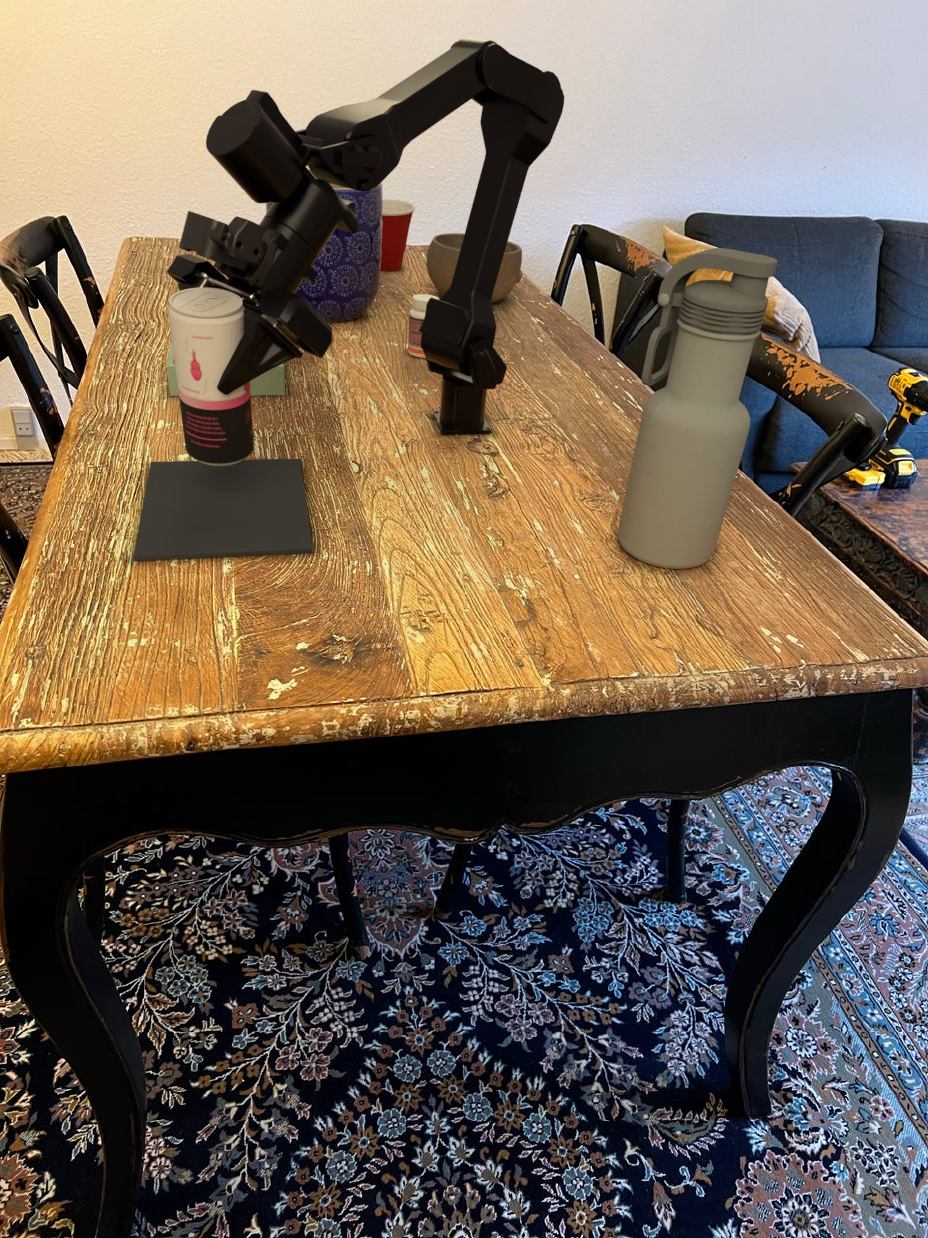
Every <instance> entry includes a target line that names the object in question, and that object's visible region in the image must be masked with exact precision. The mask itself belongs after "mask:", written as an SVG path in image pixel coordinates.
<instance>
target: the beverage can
mask: <svg viewBox="0 0 928 1238" xmlns="http://www.w3.org/2000/svg"><path fill="white" fill-rule="evenodd" d="M242 300H243V298H240V297H239V296H238V295H237V294H235V293H233V292H230V291H227V290H223V289H218V288H190V289H185V290H182V291H180V290H179V291H176V292H174V293H173V294H172V295H171V296H170V297H169V298H168V306H167V313H168V322H169V328H170V336H171V337H170V338H171V339H172V345H173V353H174V361H175V369H176V376H177V384H178V392H179V396H178V399H179V407H180V408H179V409H180V414H181V416H180V417H181V422H182V430H183V438H184V445H185V446H184V447H185V451H186V453H187V455H189V456H190V457H191V458H192V459H194V460H195V461H199V462H201V463H204V464H207V465H213V466H226V465H232V464H236V463H238V462H241V461H243V460H247V458H248V457H249V456H251V454H253V452H254V450H255V437H254V424H253V409H252V407H253V406H252V396H251V391H250V382H248V383H246V384H245V385H243V386H241V387H239V388H238V389H236V390H234V391H233V392H231V393H229V394H228V395H225V394H223V393H221V392H220V391H219V390H218V389H217V385H218V383H219V381H220V378H221V376H222V374H223V372H224V370H225V368H226V366H227V365H228V363H229V361H230V359H231V357H232V355H233V353H234V352H235V350H236V348H237V346H238V344H239V342H240V340H241V339H242V337H243V334H244V314H243V311H244V309H245V308H244V306H243V302H242Z"/></svg>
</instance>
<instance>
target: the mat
mask: <svg viewBox="0 0 928 1238" xmlns="http://www.w3.org/2000/svg"><path fill="white" fill-rule="evenodd" d="M302 469H303V468H302V463H301V458H261V459H257V458H255V459H244V460H243V461H241V462H238V463H236V464H232V465H226V466H213V465H207V464H204V463H201V462H199V461H197V460H173V461H151V462H150V465H149V471H148V476H147V482H146V487H145V493H144V498H143V502H142V508H141V513H140V518H139V524H138V528H137V529H138V530H137V534H136V535H137V536H136V540H135V545H134V551H133V556H132V558H133V561H134V562H146V561H148V562H149V561H165V560H166V561H167V560H169V561H170V560H188V559H189V560H190V559H208V558H209V559H210V558H232V557H251V556H273V555H274V556H275V555H293V554H312V553H313V552H314V548H313V542H312V534H311V527H310V521H309V513H308V507H307V506H308V505H307V498H306V491H305V484H304V478H303V470H302Z"/></svg>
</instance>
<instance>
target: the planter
mask: <svg viewBox="0 0 928 1238" xmlns="http://www.w3.org/2000/svg"><path fill="white" fill-rule="evenodd" d="M308 170H309V171H310V169H308ZM310 172H311V171H310ZM311 174H312V173H311ZM312 175H313V174H312ZM313 176H314V175H313ZM314 177H315V176H314ZM315 178H316V177H315ZM316 179H317V178H316ZM329 184H330V185H331V186H332V188H333V189H334V190H335V192H336V193H337V194H338V195H339V197H340V198H341V199H345V200H349V201H352V202H354V203H355V214H356V217H357V220H358V227H359V231H358V233H356V234H353V233H350V232H346V231H343V230H340V229H335V231H334V232H333V234H332V235H331V237H330V238H329V240H328V242H327V243H326V245H325V246H324V248H323V249H322V251H321V253H320V254H319V256H318V257H317V259H316V260H315V262H314V264H313V265H312V267H313V269H314V270H315V271H316V272H317V273H318V276H317V277H316V279H315V280H314V282H313V283H312V282H309V281H306V280H303V281H302V282H301V284H300V286H299V287H298V289H297V290H296V292H295V293H294V294H296V295H299V296H301V297H303V298H304V299H305V300H306V301H307V302H308V303H309V304H310V305H311V306H312V307H313V308H314V309H315V310H316V311H317V312H318V313H319V314H320V315H321V316H322V317H323V318H324V319H325V320H326V322H327V323H340V322H342V323H343V322H348V321H353V320H355V319H358V318H360V317H361V316H363V315H364V314H365V313H366V312H367V311H368V310H369V308H370V307H371V306H372V304H373V302H374V301H375V298H376V296H377V294H378V290H379V286H380V277H381V270H380V268H381V253H382V213H383V198H384V197H383V196H384V195H383V183H382V182H381V183H380V184H379V185H378V186H377V187H376V188H375V189H372V190H370V191H367V192H363V191H358V190H354V189H350V188H346V187H342V186H339V185H335V184H331V183H329ZM272 204H273V203H272V202H268V203H265V214H266V213H267V212H268V210H269V209H270V207H271V206H272Z"/></svg>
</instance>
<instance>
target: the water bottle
mask: <svg viewBox="0 0 928 1238" xmlns="http://www.w3.org/2000/svg"><path fill="white" fill-rule="evenodd" d="M778 262H779V261H778V259H776V258H775V257H771V256H768V255H764V254H758V253H752V252H747V251H743V250H737V249H731V248H724V247H713V248H708V249H704V250H702V251H699V252H697V253H693V254H692V255H689V256H687V257H685V258H683V259H681V260H680V261H678V262H677V263H675V264H674V265H673V266H672V267H671V268H670V269H669V270H668V272H666V275H665V276H664V278H663V280H662V281H661V283H660V287H659V291H658V295H657V303H658V305H659V306H660V307H662V311H661V312H662V313H661V318H660V322H659V326H657V327H655V328H654V329H653V331H652V333H651V335H650V337H649V340H648V343H647V350H646V353H645V358H644V364H643V368H642V374H641V383H642V385H644V386H648V387H652V386H653V385H655V384H657V383H658V382H659V381H661V380H662V379H663V380H664V378H666V377H667V380H666V385H665V387H662V388H660V389H658V390H656V391H654V392H653V393H652V394H651V395H650V396H648V398H647V399H646V401H645V403H644V406H643V409H642V412H641V418H640V422H639V426H638V431H637V437H636V441H635V446H634V451H633V455H632V461H631V465H630V471H629V474H628V480H627V484H626V490H625V493H624V500H623V504H622V508H621V509H622V510H621V513H620V518H619V524H618V529H617V539H618V541H619V543H620V545H621V547H622V548H623V550H624V551H625V552H626V553H628V554H629V555H630V556H632V557H633V558H635V559H637V560H638V561H641V562H643V563H645V564H648V565H651V566H654V567H658V568H661V569H662V568H663V569H669V570H670V569H671V570H685V569H692V568H696V567H700V566H702V565H704V564H705V563H706V562H708V561H709V560H710V559H711V558H712V556H713V555H714V553H715V551H716V548H717V547H716V546H717V544H718V540H719V537H720V535H721V530H722V526H723V523H724V520H725V517H726V513H727V509H728V505H729V503H730V498H731V495H732V492H733V488H734V485H735V481H736V477H737V474H738V470H739V467H740V464H741V460H742V456H743V453H744V449H745V446H746V442H747V439H748V436H749V432H750V427H751V416H750V413H749V411H748V409H747V408H746V406H745V404H743V402H742V401H740V396H741V392H742V388H743V384H744V381H745V377H746V374H747V369H748V366H749V362H750V359H751V355H752V351H753V348H754V345H755V342H756V338H757V339H758V337H759V336H760V334H761V329H762V327H763V322H764V318H765V316H766V312H767V308H768V306H769V299H768V296H766V293H767V288H768V283H769V278H773V277H774V276H775V274H776V270H777V266H778ZM705 269H706V270H716V271H723V272H727V273H732V276H731V279H730V280H725V279H701V280H698V281H694V282H692V283H690V284H688V282H689V280H690V278H691V276H692V275H694V273H696V272H697V271H698V270H705ZM678 316H679V317H678ZM670 331H671V335H670V339H669V340H670V341H669V344H668V349H667V353H666V358H665V361H664V363H663V365H662V367H661V369H659V370H658V371H656V372H655V373H653V367H654V363H655V359H656V353H657V348H658V345H659V343H660V340H661V339H662V337H663V336H664V335H665V334H667V333H668V332H670Z"/></svg>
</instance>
